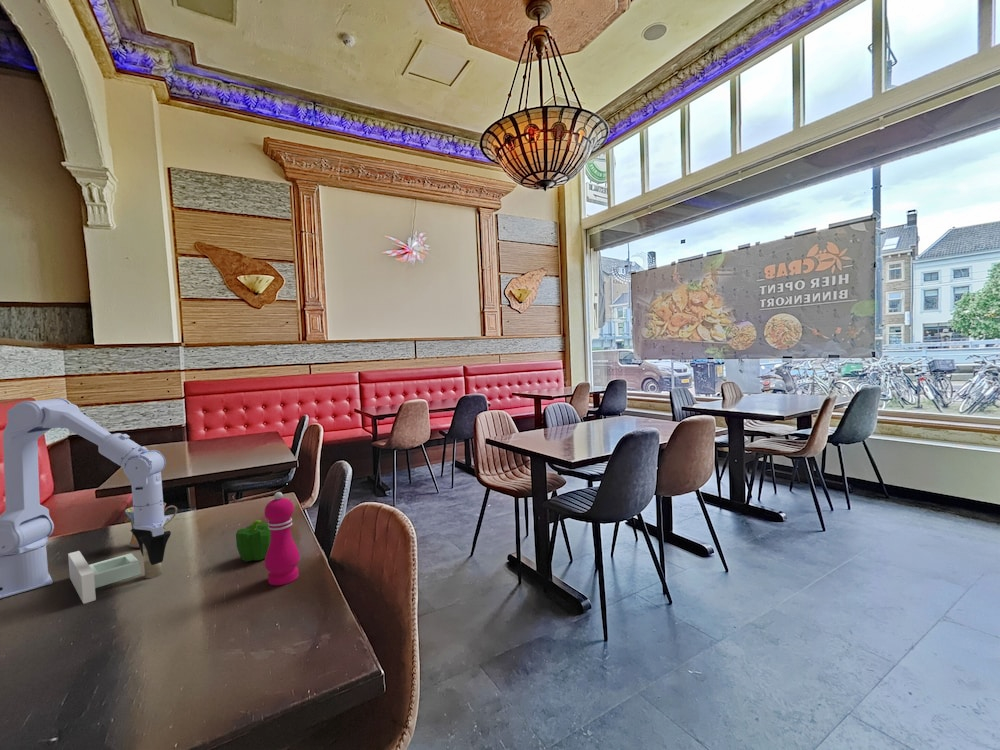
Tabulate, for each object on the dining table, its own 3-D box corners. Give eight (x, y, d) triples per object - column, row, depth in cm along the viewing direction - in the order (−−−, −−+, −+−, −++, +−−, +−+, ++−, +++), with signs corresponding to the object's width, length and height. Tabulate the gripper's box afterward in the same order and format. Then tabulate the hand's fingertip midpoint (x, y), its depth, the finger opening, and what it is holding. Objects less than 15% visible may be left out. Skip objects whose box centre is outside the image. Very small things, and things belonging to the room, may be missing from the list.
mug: (132, 553, 124) (129, 514, 124) (124, 545, 130) (121, 508, 130) (183, 538, 133) (181, 502, 133) (174, 532, 139) (171, 497, 139)
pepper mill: (287, 587, 100) (281, 497, 99) (258, 586, 101) (252, 496, 101) (307, 572, 107) (302, 487, 106) (280, 571, 109) (275, 487, 108)
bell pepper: (234, 558, 117) (231, 520, 117) (268, 548, 123) (266, 511, 122) (241, 568, 111) (239, 528, 111) (278, 557, 116) (275, 519, 116)
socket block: (91, 589, 104) (90, 576, 104) (84, 578, 110) (83, 566, 109) (140, 574, 110) (139, 561, 110) (132, 564, 116) (131, 553, 116)
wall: (83, 603, 97) (81, 576, 97) (69, 578, 110) (68, 553, 110) (95, 599, 99) (93, 572, 98) (81, 574, 112) (79, 550, 112)
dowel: (146, 579, 107) (144, 546, 107) (143, 576, 109) (141, 543, 109) (163, 574, 110) (161, 541, 110) (159, 571, 112) (157, 538, 112)
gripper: (177, 503, 107) (181, 560, 108) (160, 494, 117) (164, 546, 117) (139, 512, 102) (144, 572, 102) (125, 501, 111) (129, 556, 112)
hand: (152, 559), depth 109 cm, fingers open, 7 cm apart
